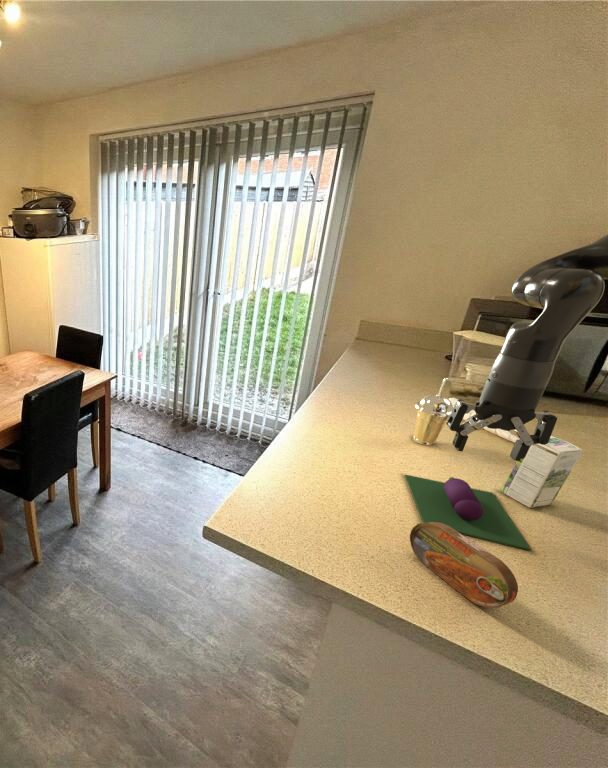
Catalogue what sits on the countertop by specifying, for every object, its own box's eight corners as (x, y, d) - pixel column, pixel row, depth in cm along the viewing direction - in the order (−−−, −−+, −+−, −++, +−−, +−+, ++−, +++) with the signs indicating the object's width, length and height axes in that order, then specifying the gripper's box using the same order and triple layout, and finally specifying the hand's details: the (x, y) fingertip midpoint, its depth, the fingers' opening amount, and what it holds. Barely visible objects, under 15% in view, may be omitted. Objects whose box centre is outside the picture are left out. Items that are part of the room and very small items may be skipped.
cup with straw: (420, 431, 113) (443, 367, 105) (453, 447, 105) (480, 379, 97) (396, 435, 111) (418, 370, 104) (428, 452, 103) (454, 383, 95)
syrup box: (520, 488, 89) (548, 433, 83) (552, 506, 84) (584, 448, 78) (500, 492, 88) (527, 436, 83) (531, 509, 83) (562, 451, 77)
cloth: (491, 494, 88) (492, 492, 88) (529, 550, 73) (530, 549, 73) (404, 475, 94) (405, 474, 94) (423, 524, 79) (424, 523, 79)
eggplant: (462, 489, 88) (467, 473, 87) (483, 527, 78) (489, 509, 76) (437, 485, 90) (441, 469, 89) (455, 521, 80) (460, 504, 78)
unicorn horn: (517, 450, 103) (524, 435, 101) (438, 410, 125) (443, 397, 123) (533, 449, 104) (541, 434, 102) (451, 410, 125) (457, 396, 124)
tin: (403, 548, 74) (416, 513, 71) (416, 545, 75) (430, 510, 71) (493, 621, 60) (515, 582, 57) (509, 616, 61) (531, 577, 58)
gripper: (559, 377, 72) (524, 452, 78) (460, 367, 78) (435, 438, 84) (584, 392, 66) (543, 473, 72) (474, 380, 72) (445, 455, 78)
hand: (485, 454), depth 78 cm, fingers open, 8 cm apart
